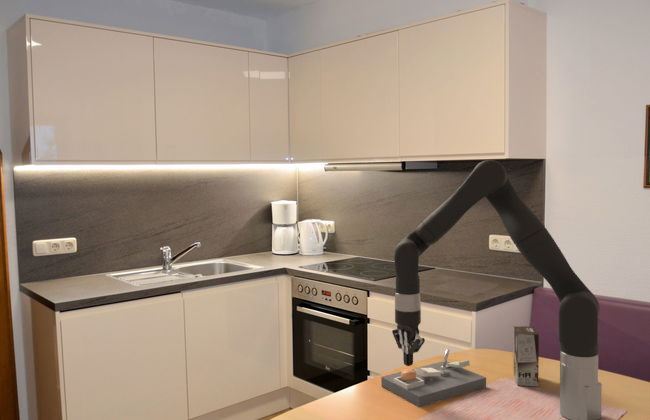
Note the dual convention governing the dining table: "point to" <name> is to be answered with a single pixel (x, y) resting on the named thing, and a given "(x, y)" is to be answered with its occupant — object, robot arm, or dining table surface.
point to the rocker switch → (427, 372)
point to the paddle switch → (459, 364)
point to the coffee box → (526, 355)
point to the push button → (408, 374)
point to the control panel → (434, 384)
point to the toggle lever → (445, 360)
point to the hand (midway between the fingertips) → (408, 364)
